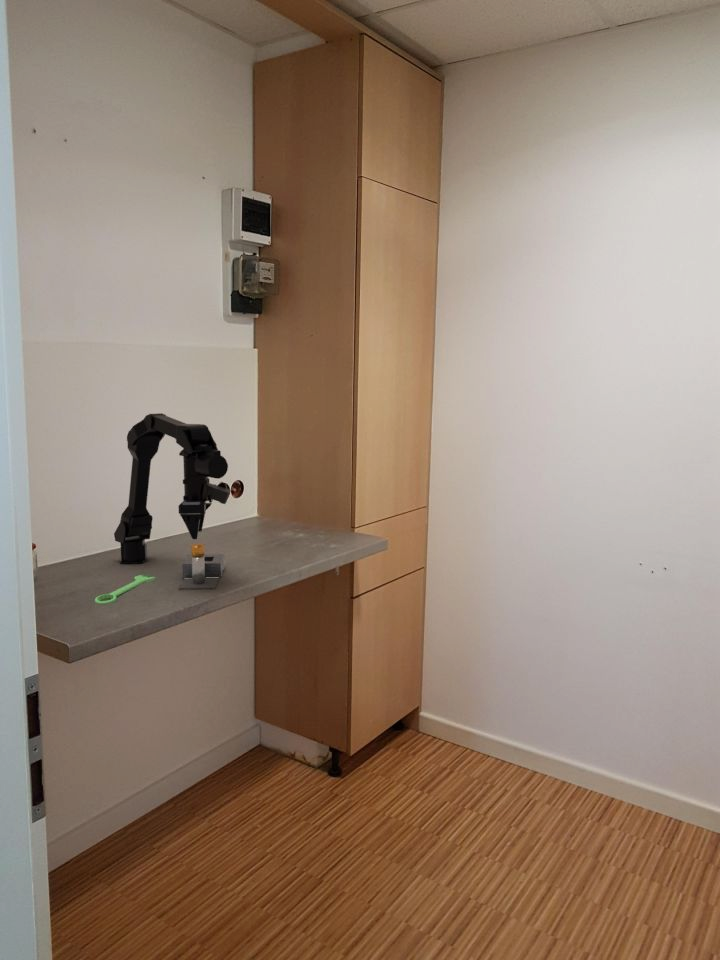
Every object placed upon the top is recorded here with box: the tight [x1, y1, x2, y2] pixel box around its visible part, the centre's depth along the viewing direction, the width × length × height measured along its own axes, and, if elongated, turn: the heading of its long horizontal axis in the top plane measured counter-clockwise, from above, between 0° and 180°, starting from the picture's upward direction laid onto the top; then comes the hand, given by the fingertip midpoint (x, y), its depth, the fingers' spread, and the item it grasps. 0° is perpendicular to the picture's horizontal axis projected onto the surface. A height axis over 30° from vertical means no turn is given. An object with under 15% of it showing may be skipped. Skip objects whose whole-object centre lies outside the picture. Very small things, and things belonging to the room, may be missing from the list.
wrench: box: [94, 574, 156, 605], centre depth 200 cm, size 25×2×5 cm
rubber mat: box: [178, 578, 219, 590], centre depth 204 cm, size 9×9×1 cm
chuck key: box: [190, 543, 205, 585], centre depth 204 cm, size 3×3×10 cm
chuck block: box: [181, 553, 226, 579], centre depth 215 cm, size 10×10×4 cm
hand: (197, 535), depth 203 cm, fingers open, 9 cm apart
